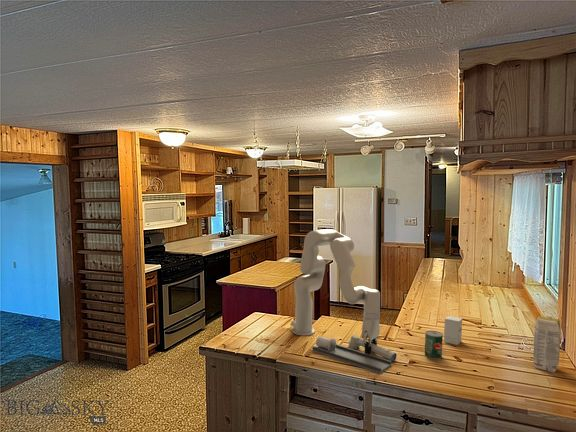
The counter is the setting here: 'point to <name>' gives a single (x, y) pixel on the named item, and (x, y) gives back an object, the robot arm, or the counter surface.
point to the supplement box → (453, 330)
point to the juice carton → (547, 343)
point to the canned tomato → (433, 344)
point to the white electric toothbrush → (372, 348)
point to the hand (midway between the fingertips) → (370, 351)
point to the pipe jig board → (350, 355)
